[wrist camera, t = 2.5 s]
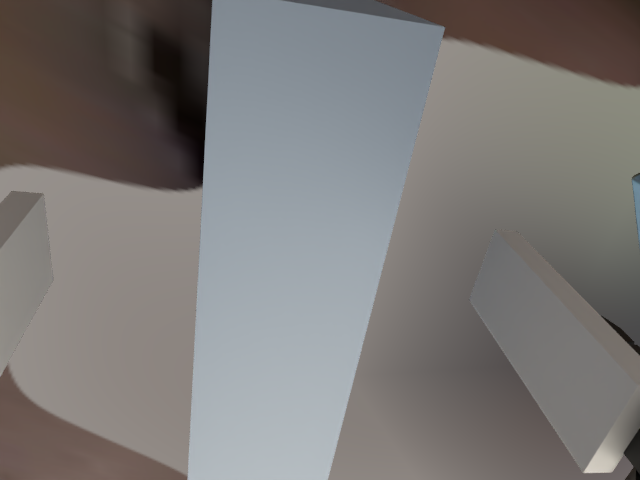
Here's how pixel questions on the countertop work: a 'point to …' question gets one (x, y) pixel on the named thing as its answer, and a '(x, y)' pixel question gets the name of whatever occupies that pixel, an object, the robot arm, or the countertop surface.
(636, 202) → the gum box
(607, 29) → the countertop surface
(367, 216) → the book
